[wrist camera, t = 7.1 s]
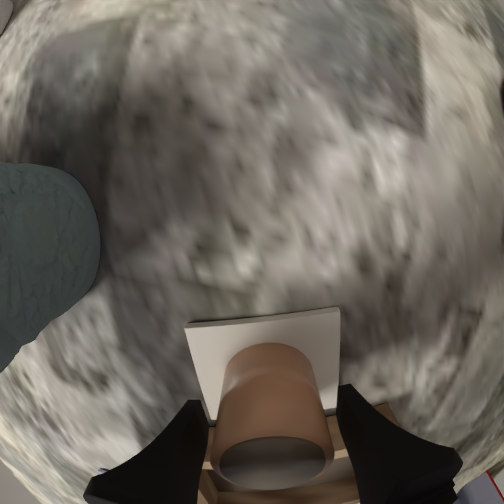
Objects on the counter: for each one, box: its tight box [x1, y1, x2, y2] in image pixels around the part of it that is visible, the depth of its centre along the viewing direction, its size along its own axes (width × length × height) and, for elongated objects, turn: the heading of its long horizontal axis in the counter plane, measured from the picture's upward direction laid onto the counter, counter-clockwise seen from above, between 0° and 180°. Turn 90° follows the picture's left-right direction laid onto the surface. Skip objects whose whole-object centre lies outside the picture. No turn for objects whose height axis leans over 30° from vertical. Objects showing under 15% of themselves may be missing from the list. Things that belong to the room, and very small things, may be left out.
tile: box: [185, 307, 340, 420], centre depth 15 cm, size 8×7×1 cm
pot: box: [210, 343, 335, 490], centre depth 11 cm, size 5×5×6 cm
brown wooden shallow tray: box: [197, 403, 400, 504], centre depth 16 cm, size 15×11×3 cm
